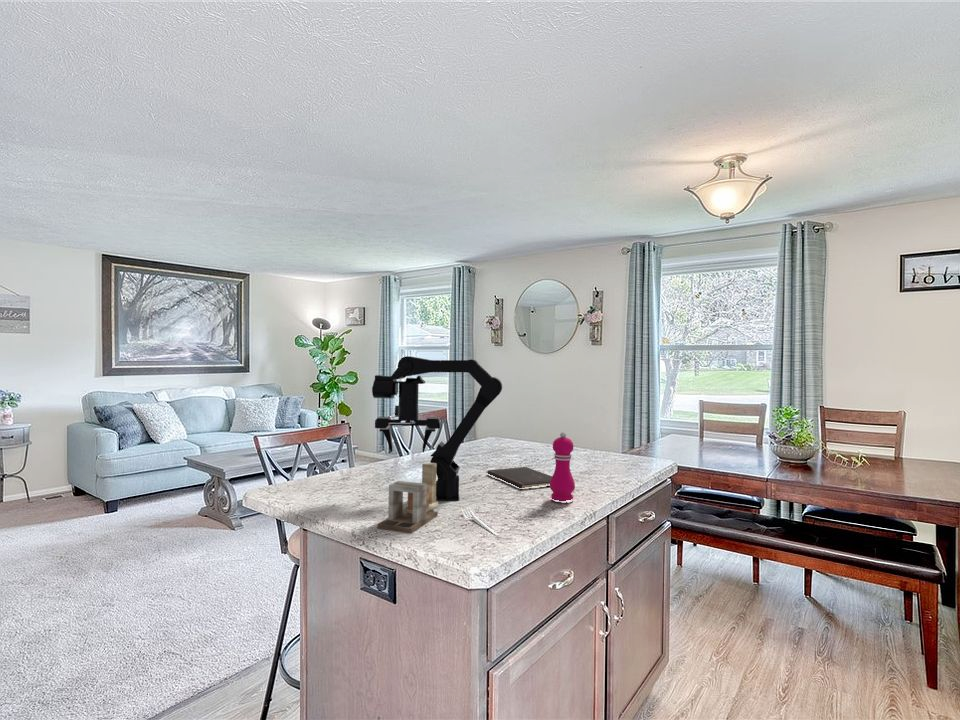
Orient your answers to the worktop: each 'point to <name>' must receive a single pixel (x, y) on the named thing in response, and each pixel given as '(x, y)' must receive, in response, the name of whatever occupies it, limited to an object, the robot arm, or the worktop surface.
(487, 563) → the worktop surface
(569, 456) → the pepper mill
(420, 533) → the worktop surface
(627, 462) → the worktop surface
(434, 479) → the beige orange stepped block
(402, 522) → the tunnel
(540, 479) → the hardcover book
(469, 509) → the fork
